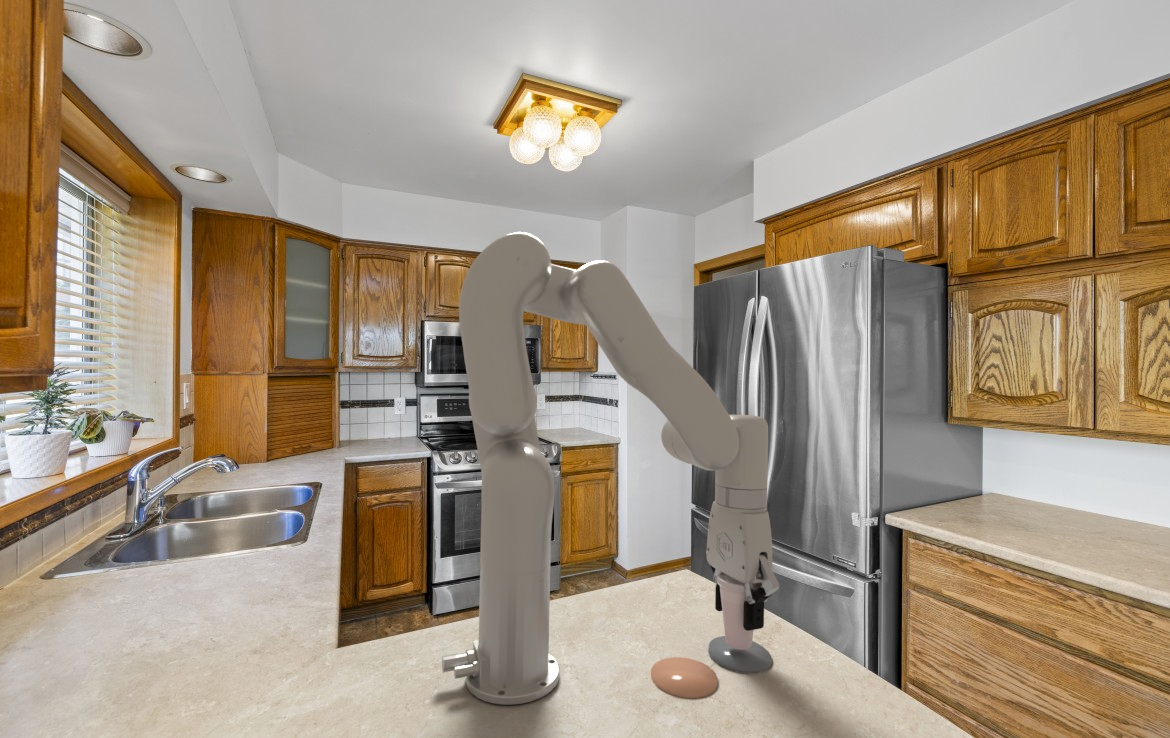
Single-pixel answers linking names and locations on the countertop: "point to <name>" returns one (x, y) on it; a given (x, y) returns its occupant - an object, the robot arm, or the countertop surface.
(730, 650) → the grey pebble
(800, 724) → the countertop surface
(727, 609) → the smoothie
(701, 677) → the orange brown disc
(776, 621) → the countertop surface
